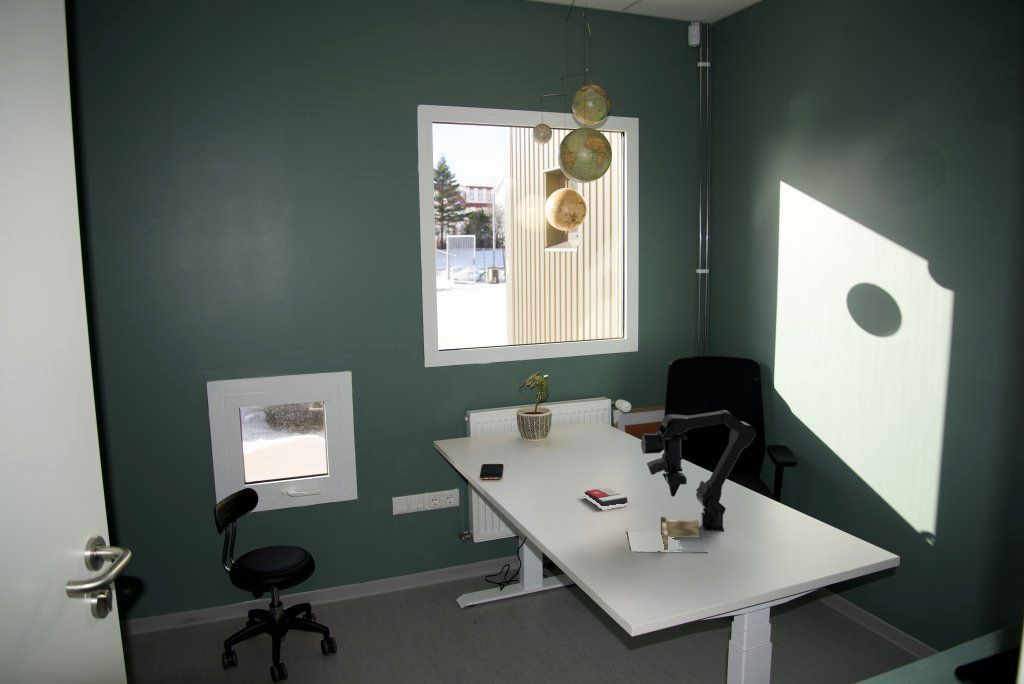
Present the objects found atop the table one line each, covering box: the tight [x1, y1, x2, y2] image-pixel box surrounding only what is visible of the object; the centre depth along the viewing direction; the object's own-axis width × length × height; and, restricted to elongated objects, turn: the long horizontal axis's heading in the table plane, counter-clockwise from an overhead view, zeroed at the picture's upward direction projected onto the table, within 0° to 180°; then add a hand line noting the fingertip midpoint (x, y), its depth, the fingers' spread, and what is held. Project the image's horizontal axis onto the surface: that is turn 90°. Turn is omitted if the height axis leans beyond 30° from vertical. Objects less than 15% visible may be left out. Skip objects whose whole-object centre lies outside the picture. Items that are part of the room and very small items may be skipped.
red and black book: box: [583, 486, 629, 506], centre depth 258 cm, size 11×4×15 cm
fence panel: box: [662, 521, 668, 550], centre depth 218 cm, size 11×1×5 cm, turn 171°
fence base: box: [660, 516, 700, 536], centre depth 224 cm, size 12×2×6 cm, turn 85°
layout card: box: [669, 534, 708, 554], centre depth 221 cm, size 24×17×1 cm
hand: (672, 496), depth 229 cm, fingers closed
